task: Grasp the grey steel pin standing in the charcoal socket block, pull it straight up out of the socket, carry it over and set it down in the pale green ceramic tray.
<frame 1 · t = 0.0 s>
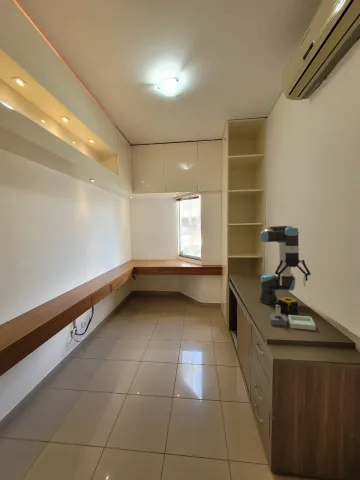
hand: (292, 285, 144), 28 cm above the table, fingers open, 13 cm apart
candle: (287, 312, 171), on the table
pin: (278, 313, 155), in the socket block
tray: (301, 324, 151), on the table
socket block: (278, 322, 155), on the table
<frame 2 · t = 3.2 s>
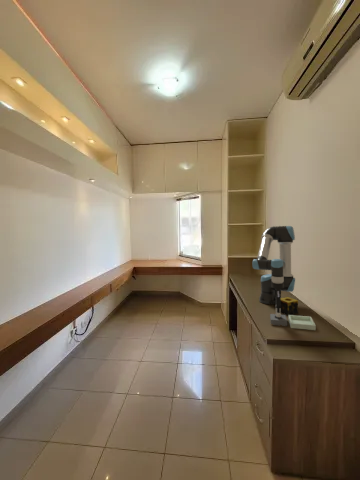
hand: (278, 315, 155), 5 cm above the table, fingers closed on pin, 3 cm apart
pin: (278, 313, 155), in the socket block, touching gripper
everything else where it was.
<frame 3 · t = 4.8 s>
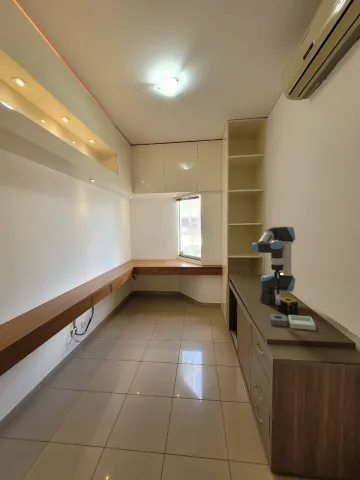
hand: (277, 297, 154), 17 cm above the table, fingers closed on pin, 3 cm apart
pin: (277, 295, 154), point 18 cm above the table, touching gripper
everything else where it was.
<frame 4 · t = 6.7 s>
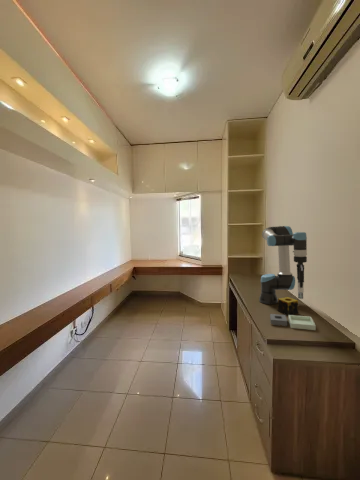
hand: (300, 291, 149), 22 cm above the table, fingers closed on pin, 3 cm apart
pin: (300, 289, 149), point 24 cm above the table, touching gripper
everything else where it was.
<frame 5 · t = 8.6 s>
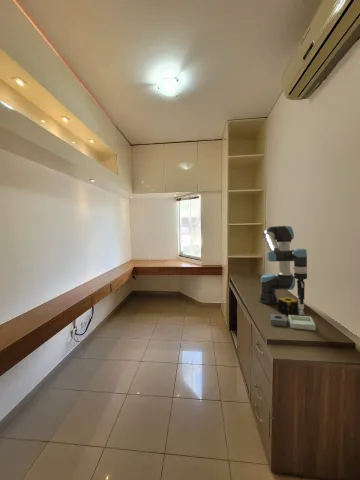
hand: (301, 307, 150), 11 cm above the table, fingers closed on pin, 3 cm apart
pin: (301, 305, 150), point 13 cm above the table, touching gripper
everything else where it was.
when the fingers open (6 cm above the table, at t = 10.3 s): pin stays where it is, resting on tray.
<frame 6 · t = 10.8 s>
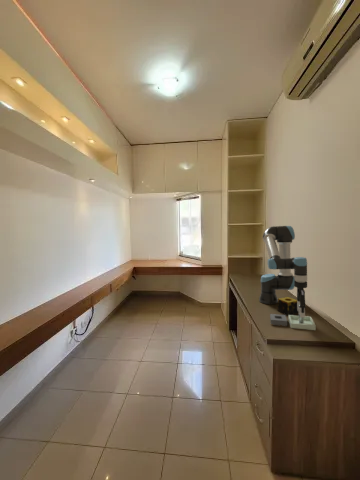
hand: (301, 313, 150), 7 cm above the table, fingers open, 10 cm apart
pin: (301, 314, 150), in the tray, point 7 cm above the table
everything else where it was.
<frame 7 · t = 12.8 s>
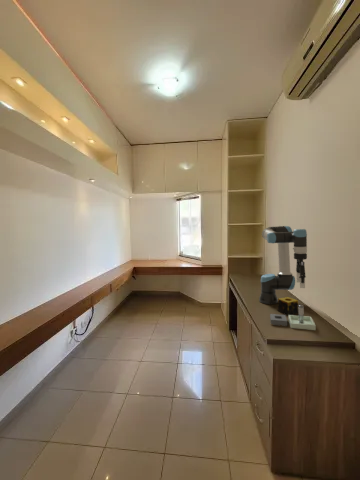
hand: (300, 285, 149), 27 cm above the table, fingers open, 13 cm apart
nothing on the table moved.
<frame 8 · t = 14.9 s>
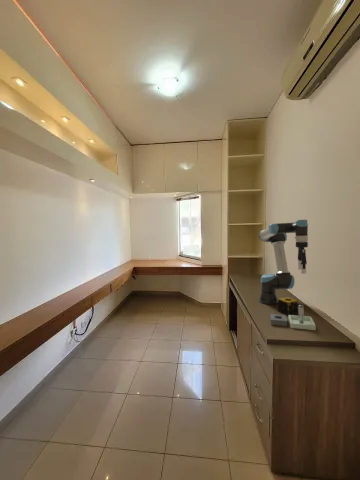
hand: (302, 271, 161), 33 cm above the table, fingers open, 13 cm apart
nothing on the table moved.
at the end: pin inside the target area on the tray (0.0 cm from its centre), point 6.8 cm above the tray's base; pin touching tray; the gripper is holding nothing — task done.
